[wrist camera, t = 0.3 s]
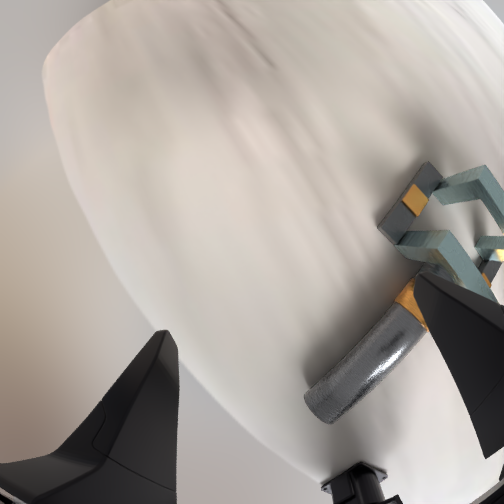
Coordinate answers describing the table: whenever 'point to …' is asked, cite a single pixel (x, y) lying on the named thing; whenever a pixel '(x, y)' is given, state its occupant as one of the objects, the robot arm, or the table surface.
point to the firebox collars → (443, 241)
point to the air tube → (372, 355)
